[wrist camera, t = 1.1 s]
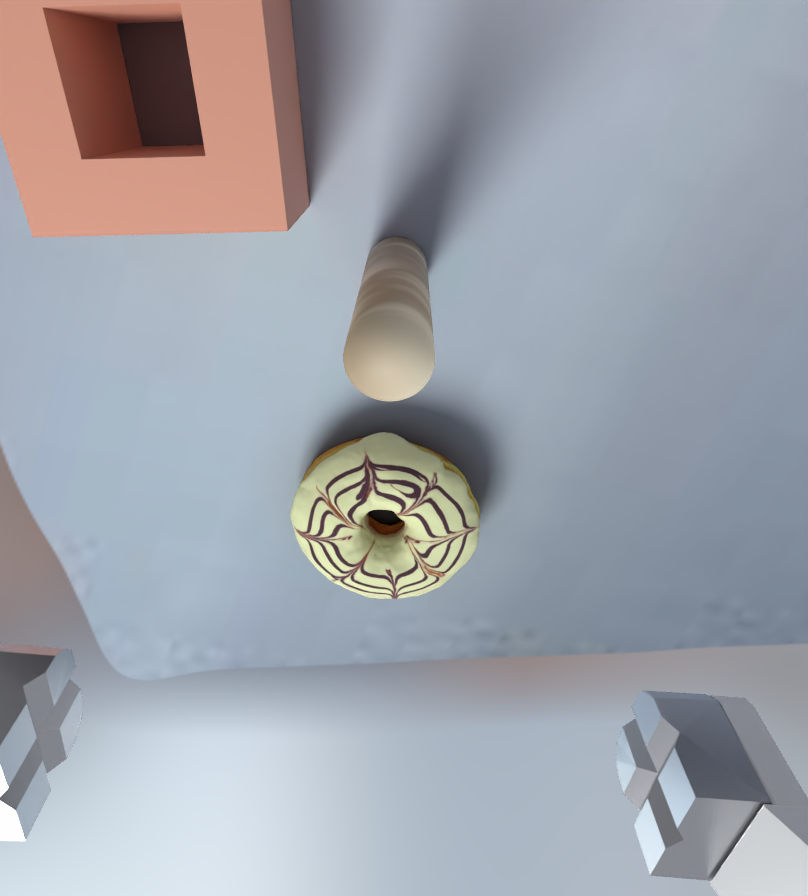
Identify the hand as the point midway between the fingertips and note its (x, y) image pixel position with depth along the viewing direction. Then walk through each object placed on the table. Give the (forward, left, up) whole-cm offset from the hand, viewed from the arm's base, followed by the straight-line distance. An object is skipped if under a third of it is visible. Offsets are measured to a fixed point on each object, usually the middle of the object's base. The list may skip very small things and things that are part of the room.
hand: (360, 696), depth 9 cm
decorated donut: (+1, +14, -26) cm, 29 cm away
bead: (+9, -8, -25) cm, 28 cm away
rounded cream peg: (0, 0, -25) cm, 25 cm away
